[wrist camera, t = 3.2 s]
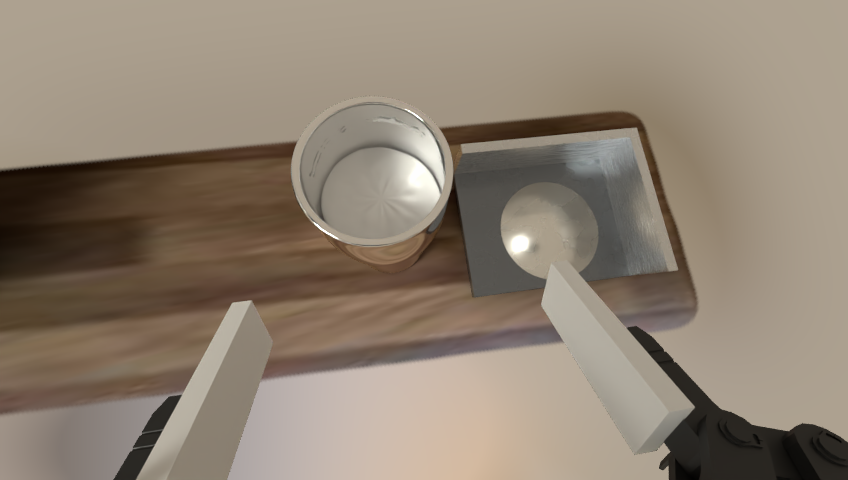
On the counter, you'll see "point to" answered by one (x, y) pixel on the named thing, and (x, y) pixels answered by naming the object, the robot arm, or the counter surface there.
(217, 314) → the counter surface
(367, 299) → the counter surface
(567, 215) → the tray
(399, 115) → the beer glass
